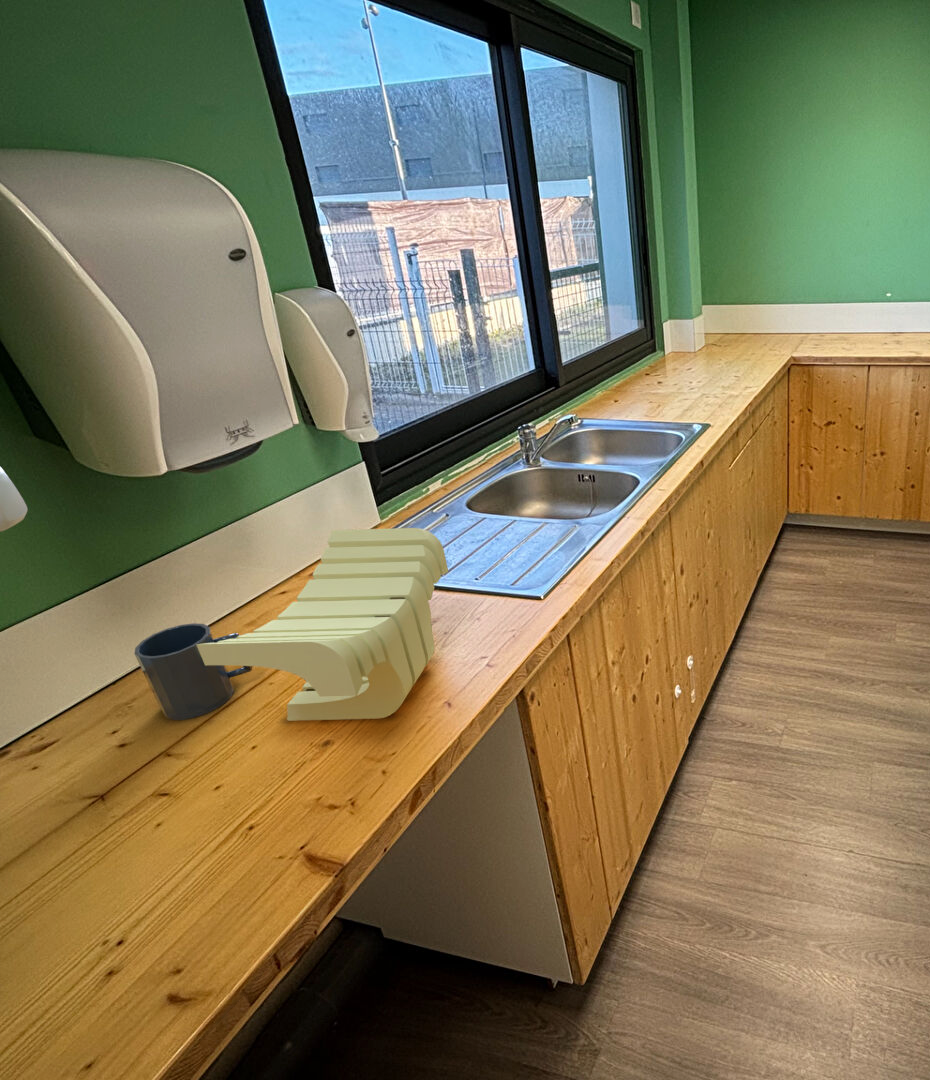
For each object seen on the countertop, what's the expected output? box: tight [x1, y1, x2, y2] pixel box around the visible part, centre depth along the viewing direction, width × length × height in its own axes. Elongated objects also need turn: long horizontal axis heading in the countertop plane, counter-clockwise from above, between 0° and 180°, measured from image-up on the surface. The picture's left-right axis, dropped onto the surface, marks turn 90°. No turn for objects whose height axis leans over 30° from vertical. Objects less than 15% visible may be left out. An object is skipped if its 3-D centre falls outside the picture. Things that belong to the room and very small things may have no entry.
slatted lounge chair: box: [196, 527, 450, 722], centre depth 94 cm, size 30×16×18 cm, turn 0°
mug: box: [134, 622, 253, 721], centre depth 95 cm, size 11×8×10 cm
